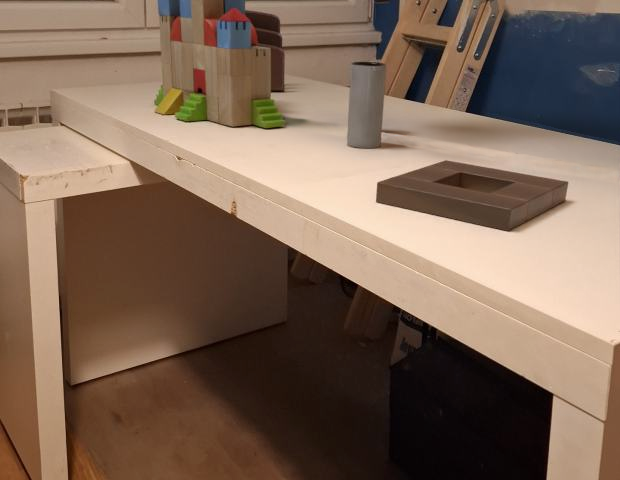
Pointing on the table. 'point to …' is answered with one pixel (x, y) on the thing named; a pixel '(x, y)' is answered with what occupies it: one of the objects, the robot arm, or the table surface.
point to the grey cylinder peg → (366, 104)
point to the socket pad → (473, 193)
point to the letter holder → (270, 44)
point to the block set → (214, 65)
